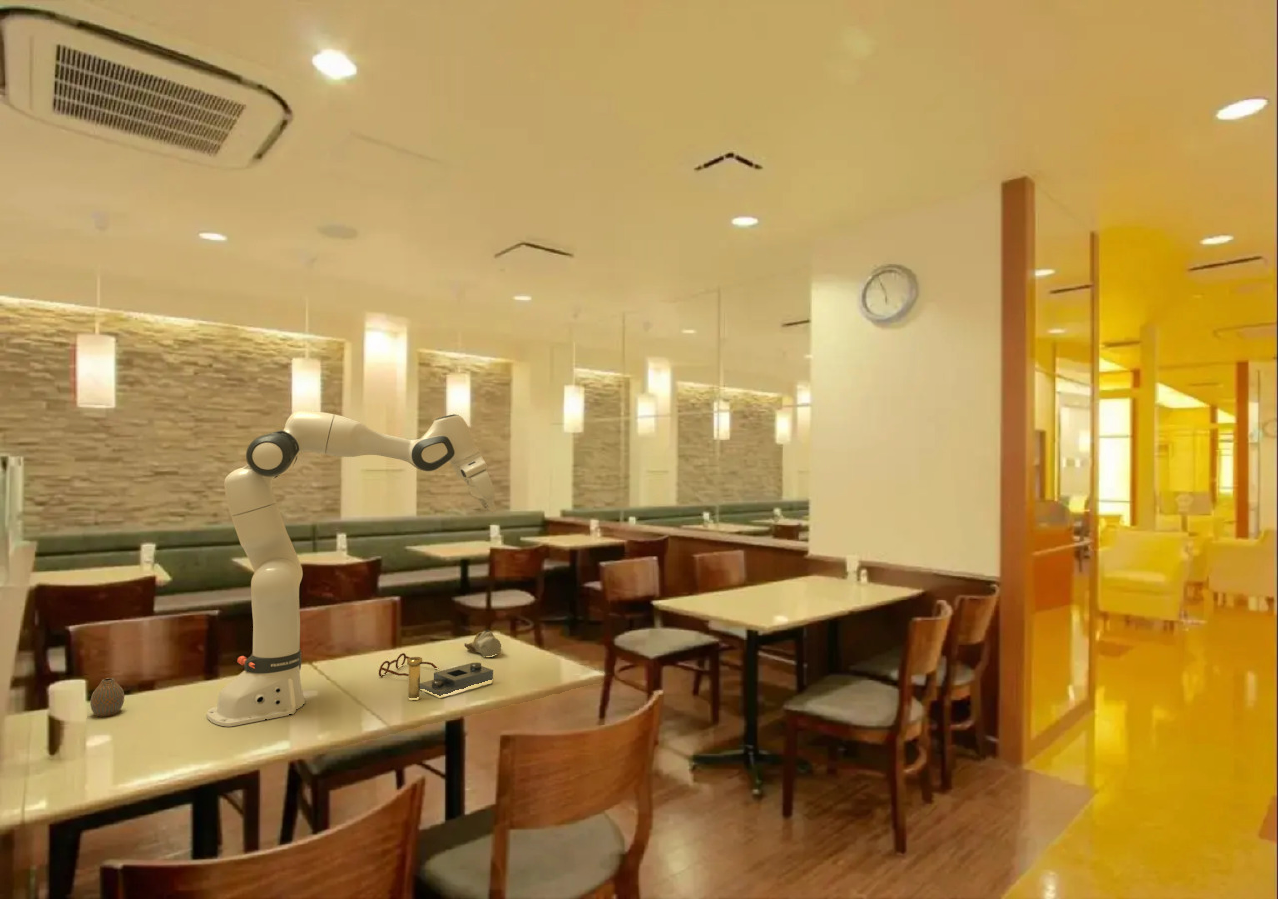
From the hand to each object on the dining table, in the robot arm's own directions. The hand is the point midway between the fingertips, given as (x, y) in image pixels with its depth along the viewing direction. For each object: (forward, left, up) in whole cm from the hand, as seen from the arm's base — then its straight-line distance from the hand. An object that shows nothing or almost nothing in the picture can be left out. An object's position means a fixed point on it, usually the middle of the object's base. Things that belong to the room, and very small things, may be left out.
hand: (490, 510), depth 208 cm
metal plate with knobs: (-6, +6, -51) cm, 52 cm away
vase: (-79, +51, -51) cm, 107 cm away
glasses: (-9, +26, -52) cm, 59 cm away
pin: (-20, +6, -51) cm, 55 cm away
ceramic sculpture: (+20, +27, -52) cm, 62 cm away
